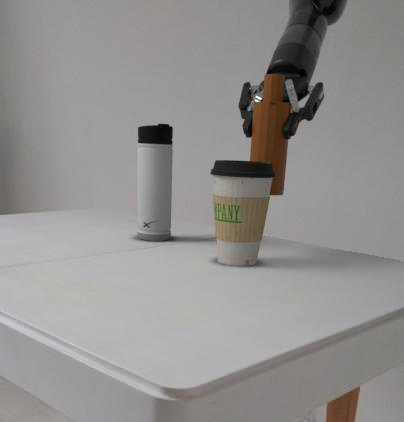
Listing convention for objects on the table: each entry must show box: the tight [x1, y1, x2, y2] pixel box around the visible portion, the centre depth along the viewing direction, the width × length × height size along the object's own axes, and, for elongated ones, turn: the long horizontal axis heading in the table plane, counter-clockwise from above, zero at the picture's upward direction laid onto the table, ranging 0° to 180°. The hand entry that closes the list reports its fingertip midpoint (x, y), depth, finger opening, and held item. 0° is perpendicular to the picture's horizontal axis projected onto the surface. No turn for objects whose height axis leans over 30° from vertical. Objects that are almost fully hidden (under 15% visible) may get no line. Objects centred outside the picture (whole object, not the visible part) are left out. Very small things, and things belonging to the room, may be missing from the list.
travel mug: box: [137, 123, 174, 242], centre depth 103 cm, size 6×7×20 cm
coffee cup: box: [209, 159, 275, 267], centre depth 87 cm, size 10×10×15 cm
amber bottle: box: [249, 73, 291, 196], centre depth 92 cm, size 6×6×18 cm
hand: (266, 134), depth 90 cm, fingers closed on amber bottle, 6 cm apart
